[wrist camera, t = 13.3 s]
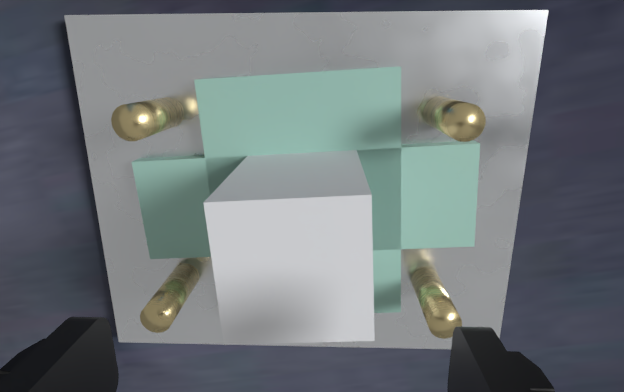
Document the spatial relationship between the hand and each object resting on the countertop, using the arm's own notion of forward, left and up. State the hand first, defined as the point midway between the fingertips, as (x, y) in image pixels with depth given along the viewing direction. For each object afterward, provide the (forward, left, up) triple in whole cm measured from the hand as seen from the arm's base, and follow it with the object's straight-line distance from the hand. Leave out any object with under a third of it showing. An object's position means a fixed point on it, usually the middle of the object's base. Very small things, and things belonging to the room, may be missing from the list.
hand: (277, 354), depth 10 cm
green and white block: (0, 0, -11) cm, 11 cm away
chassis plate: (0, 0, -12) cm, 12 cm away
